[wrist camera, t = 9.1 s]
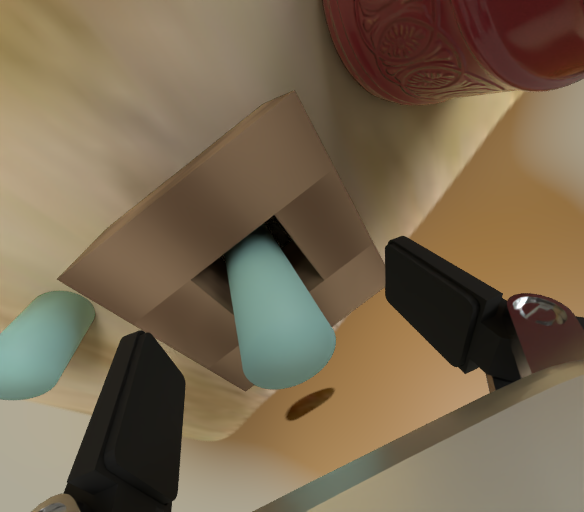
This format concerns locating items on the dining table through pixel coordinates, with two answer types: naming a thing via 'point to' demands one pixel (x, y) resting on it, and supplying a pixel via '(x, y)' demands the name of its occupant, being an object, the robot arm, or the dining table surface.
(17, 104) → the dining table surface
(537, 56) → the canister
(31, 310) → the short dowel
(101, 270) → the socket block
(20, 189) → the dining table surface
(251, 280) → the tall dowel
